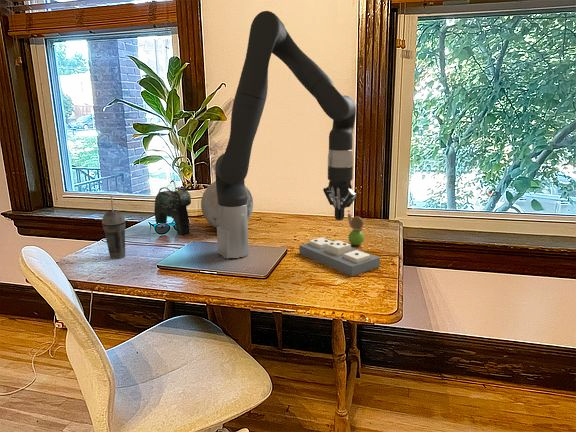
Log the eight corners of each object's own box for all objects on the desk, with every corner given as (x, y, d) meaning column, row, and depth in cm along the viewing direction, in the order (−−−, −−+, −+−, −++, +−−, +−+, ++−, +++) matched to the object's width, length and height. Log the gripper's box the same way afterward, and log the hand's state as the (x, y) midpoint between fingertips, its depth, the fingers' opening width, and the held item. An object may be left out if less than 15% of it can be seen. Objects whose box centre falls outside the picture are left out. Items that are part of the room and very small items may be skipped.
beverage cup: (104, 261, 139) (96, 200, 134) (107, 254, 146) (100, 195, 141) (128, 259, 141) (122, 198, 136) (130, 252, 148) (124, 193, 143)
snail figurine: (350, 240, 158) (352, 208, 155) (366, 244, 154) (368, 211, 151) (342, 244, 154) (343, 211, 151) (358, 248, 150) (360, 214, 147)
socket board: (352, 276, 127) (352, 266, 127) (299, 253, 146) (299, 245, 145) (379, 266, 134) (380, 257, 134) (326, 246, 153) (326, 238, 152)
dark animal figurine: (194, 233, 167) (191, 182, 162) (180, 237, 163) (176, 184, 157) (165, 224, 180) (161, 175, 175) (151, 227, 175) (146, 178, 170)
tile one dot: (356, 267, 130) (357, 258, 129) (343, 261, 134) (343, 253, 133) (369, 262, 133) (370, 254, 132) (356, 257, 137) (356, 249, 137)
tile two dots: (320, 252, 142) (320, 244, 141) (309, 247, 146) (309, 240, 145) (333, 248, 145) (333, 240, 144) (321, 244, 149) (321, 236, 149)
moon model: (192, 234, 167) (189, 182, 161) (217, 220, 185) (214, 173, 180) (241, 239, 161) (239, 185, 155) (261, 224, 179) (260, 175, 174)
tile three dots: (337, 256, 136) (338, 247, 135) (325, 251, 140) (325, 243, 139) (350, 252, 139) (351, 244, 138) (338, 247, 143) (338, 239, 142)
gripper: (316, 163, 135) (316, 217, 140) (347, 168, 125) (346, 226, 130) (333, 160, 139) (333, 213, 144) (365, 165, 129) (363, 222, 134)
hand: (339, 219), depth 137 cm, fingers closed
